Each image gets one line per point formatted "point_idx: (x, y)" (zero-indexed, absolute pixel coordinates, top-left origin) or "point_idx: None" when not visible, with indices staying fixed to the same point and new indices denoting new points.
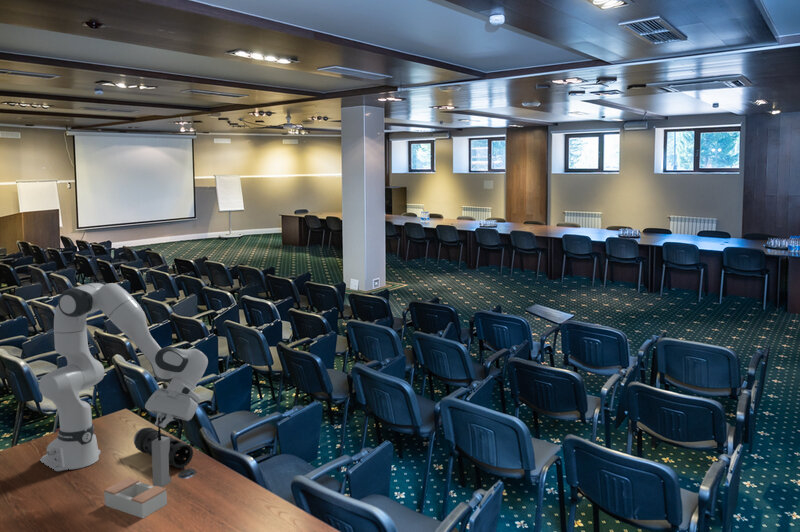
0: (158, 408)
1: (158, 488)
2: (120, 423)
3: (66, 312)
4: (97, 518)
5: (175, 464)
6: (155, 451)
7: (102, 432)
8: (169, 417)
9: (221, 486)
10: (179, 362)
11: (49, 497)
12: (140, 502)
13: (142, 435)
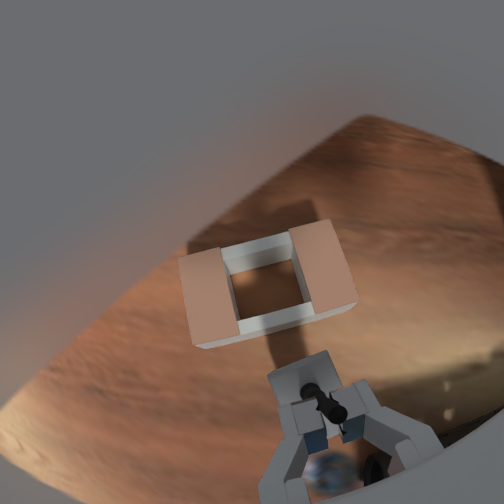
0: (468, 459)
1: (213, 329)
2: None
3: None
4: (275, 206)
5: (371, 460)
6: (298, 361)
7: None
8: (262, 495)
9: (182, 488)
10: None
11: (431, 181)
12: (184, 257)
13: None
